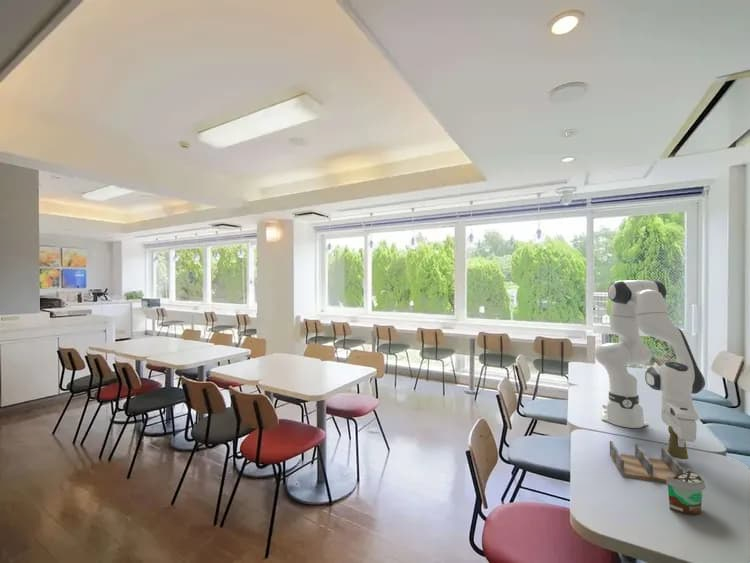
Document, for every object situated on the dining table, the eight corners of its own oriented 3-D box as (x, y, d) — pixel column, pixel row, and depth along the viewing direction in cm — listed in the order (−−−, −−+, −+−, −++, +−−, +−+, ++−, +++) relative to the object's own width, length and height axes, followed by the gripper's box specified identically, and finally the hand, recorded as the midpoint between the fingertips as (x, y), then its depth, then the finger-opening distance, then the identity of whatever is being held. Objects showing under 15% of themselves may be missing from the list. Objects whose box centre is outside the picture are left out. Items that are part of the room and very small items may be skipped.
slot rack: (609, 455, 137) (609, 440, 137) (664, 462, 130) (663, 447, 130) (621, 476, 122) (621, 459, 122) (683, 486, 115) (683, 468, 115)
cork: (692, 460, 127) (691, 430, 127) (673, 458, 128) (672, 429, 128) (681, 452, 133) (681, 423, 133) (663, 450, 134) (663, 422, 134)
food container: (692, 523, 98) (691, 487, 98) (667, 510, 103) (666, 476, 103) (715, 511, 102) (714, 477, 103) (689, 499, 108) (688, 467, 108)
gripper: (656, 396, 141) (656, 430, 142) (677, 415, 123) (678, 453, 123) (675, 398, 139) (675, 432, 139) (700, 417, 120) (701, 457, 120)
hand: (677, 442), depth 131 cm, fingers closed on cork, 4 cm apart
